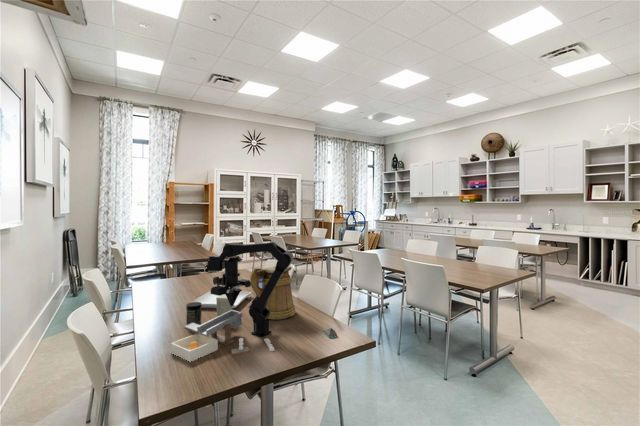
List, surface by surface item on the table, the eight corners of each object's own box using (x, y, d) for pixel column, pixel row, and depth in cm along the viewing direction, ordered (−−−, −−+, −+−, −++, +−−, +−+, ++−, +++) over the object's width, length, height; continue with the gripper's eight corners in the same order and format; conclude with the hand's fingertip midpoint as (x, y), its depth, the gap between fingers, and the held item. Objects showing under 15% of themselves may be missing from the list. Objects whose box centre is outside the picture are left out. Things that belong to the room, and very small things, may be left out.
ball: (195, 353, 121) (202, 346, 124) (191, 348, 120) (198, 340, 122) (190, 351, 123) (196, 343, 126) (185, 345, 122) (192, 338, 124)
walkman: (257, 297, 195) (257, 278, 195) (256, 296, 198) (256, 277, 197) (269, 296, 198) (269, 277, 198) (268, 294, 201) (268, 276, 200)
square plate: (252, 297, 197) (252, 291, 196) (236, 312, 169) (236, 304, 169) (210, 295, 199) (210, 289, 199) (188, 310, 172) (188, 303, 172)
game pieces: (233, 359, 118) (233, 344, 118) (229, 344, 130) (229, 331, 130) (340, 340, 135) (341, 327, 135) (328, 329, 147) (328, 317, 147)
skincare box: (232, 320, 156) (232, 296, 156) (227, 323, 152) (227, 298, 151) (221, 319, 158) (221, 294, 157) (216, 322, 153) (216, 297, 153)
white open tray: (217, 349, 125) (217, 339, 124) (189, 362, 114) (189, 351, 114) (198, 342, 131) (198, 332, 131) (170, 353, 121) (170, 343, 121)
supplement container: (201, 327, 147) (201, 305, 146) (185, 329, 144) (185, 307, 144) (201, 322, 153) (201, 301, 153) (186, 324, 150) (186, 302, 150)
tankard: (299, 317, 160) (300, 269, 160) (252, 323, 152) (253, 272, 152) (290, 306, 177) (291, 262, 177) (248, 311, 169) (248, 265, 169)
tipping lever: (219, 317, 148) (218, 305, 147) (243, 325, 139) (241, 312, 138) (185, 335, 133) (183, 322, 132) (208, 344, 124) (207, 330, 124)
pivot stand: (216, 335, 138) (216, 318, 138) (233, 341, 132) (233, 324, 132) (208, 338, 135) (208, 321, 134) (225, 345, 129) (225, 327, 128)
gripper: (234, 266, 154) (235, 297, 154) (202, 273, 138) (202, 308, 138) (251, 268, 147) (251, 301, 148) (219, 276, 132) (219, 313, 132)
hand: (231, 305), depth 142 cm, fingers closed
